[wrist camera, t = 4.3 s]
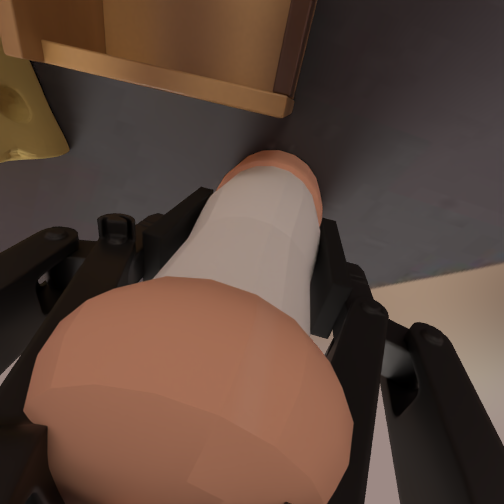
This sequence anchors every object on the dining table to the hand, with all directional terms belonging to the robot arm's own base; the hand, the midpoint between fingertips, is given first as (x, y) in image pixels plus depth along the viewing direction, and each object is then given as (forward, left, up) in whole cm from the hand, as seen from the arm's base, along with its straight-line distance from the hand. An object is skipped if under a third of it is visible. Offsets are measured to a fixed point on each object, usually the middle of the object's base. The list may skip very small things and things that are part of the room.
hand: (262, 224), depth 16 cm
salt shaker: (0, 0, -5) cm, 5 cm away
